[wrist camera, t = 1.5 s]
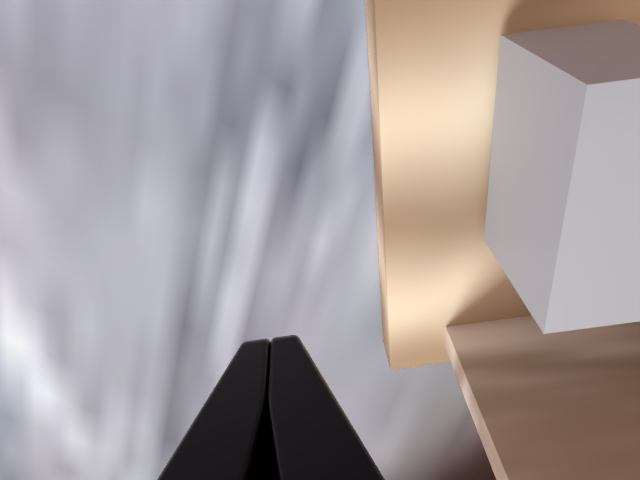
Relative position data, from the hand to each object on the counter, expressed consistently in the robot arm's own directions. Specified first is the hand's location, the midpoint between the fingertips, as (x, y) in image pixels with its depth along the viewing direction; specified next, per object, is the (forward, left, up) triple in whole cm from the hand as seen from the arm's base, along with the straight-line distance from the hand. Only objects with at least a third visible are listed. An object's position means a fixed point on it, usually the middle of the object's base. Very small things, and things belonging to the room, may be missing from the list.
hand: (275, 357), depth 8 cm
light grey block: (0, -9, -7) cm, 11 cm away
